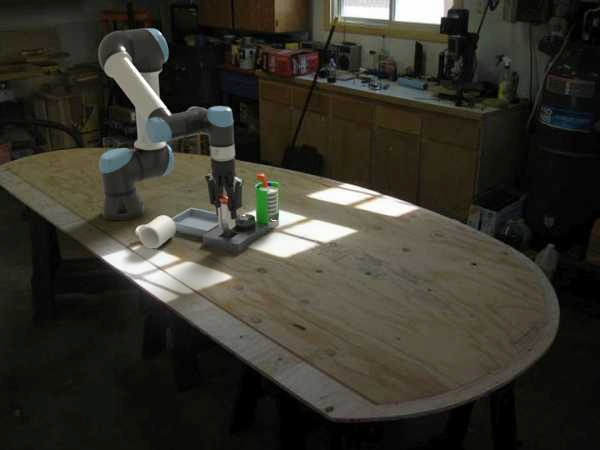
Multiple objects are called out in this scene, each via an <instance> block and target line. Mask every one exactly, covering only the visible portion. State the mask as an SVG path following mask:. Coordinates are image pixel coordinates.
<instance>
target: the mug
mask: <svg viewBox="0 0 600 450" xmlns="http://www.w3.org/2000/svg"><path fill="white" fill-rule="evenodd" d="M171 218H172V217H170V216H168V215H165V214H164V215H159V216H157V217H155V218H154V219H153V220H151V221H150V222H149V223H147V224H146V223H145V224H141V225H139V226H137V227H136V228H135V231H134V233H135V236H138V237H139V239H140V242H141V244H142V245H143V246H144V247H146V248H147V249H150V248H155V249H158V248H159V247H160V246H162V245H163V244H164V243H166V242H167V241H168V240H169V239H170V238H172V237H173V236H175V234H176V232H177V231H176V226H175V223H174V221H173V220H172V219H171ZM155 249H154V250H155Z"/></svg>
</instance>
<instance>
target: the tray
mask: <svg viewBox="0 0 600 450" xmlns="http://www.w3.org/2000/svg"><path fill="white" fill-rule="evenodd" d="M170 218H171V219H172V220H173V221H174V223H175V226H176V232H177V233H181V234H186V235H190V236H194V237H199V238H202V239H203V236H204V235H205V234H207V233H208V232H210V231H212V230H213V229H215V228H217V227H218V226H219V219H218V216H217V214H216V211H209V210H204V209H200V208H195V207H188V208H187V209H186V210H185V209H184V211H181V212H180V213H177V214H176V215H175V216H172V217H170Z"/></svg>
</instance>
